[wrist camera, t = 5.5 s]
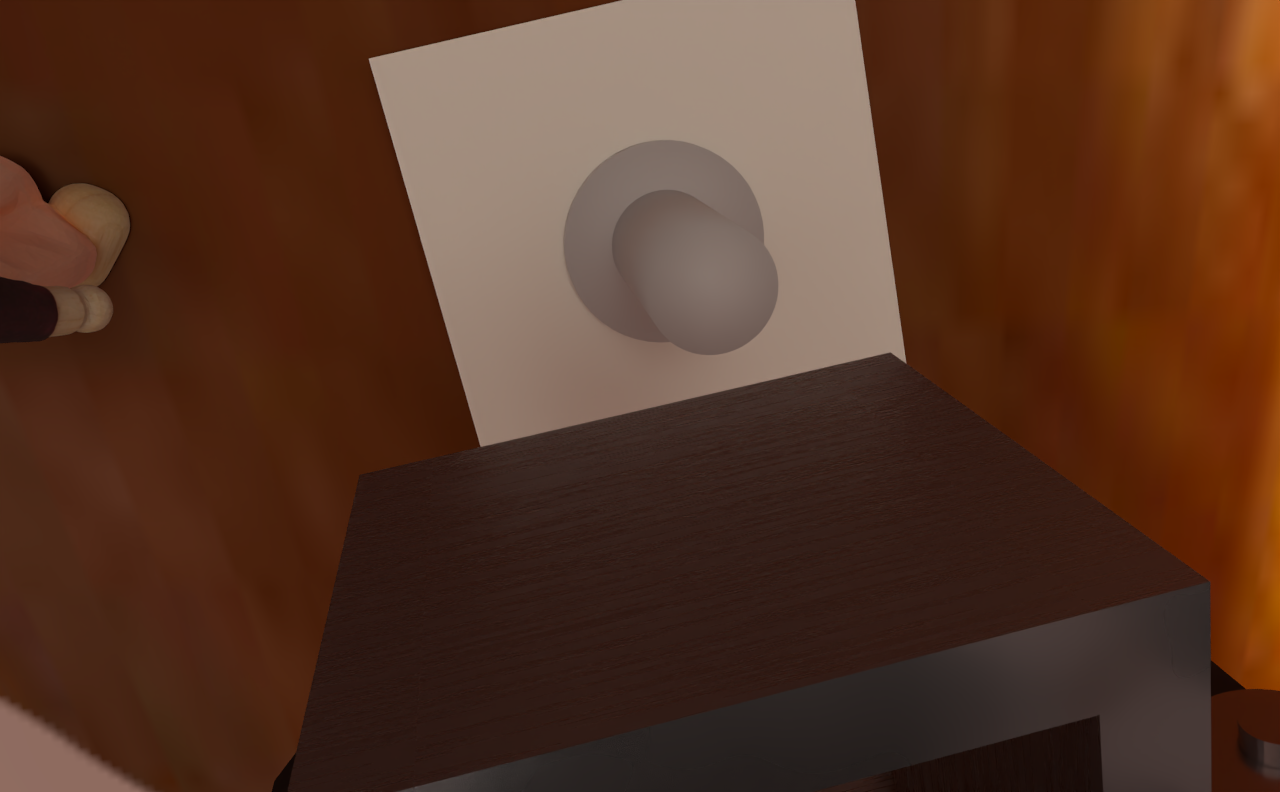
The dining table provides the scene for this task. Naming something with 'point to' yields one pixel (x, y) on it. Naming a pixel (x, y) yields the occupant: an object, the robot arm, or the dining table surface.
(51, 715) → the dining table surface
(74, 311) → the grandmother figurine
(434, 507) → the collar
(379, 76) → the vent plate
